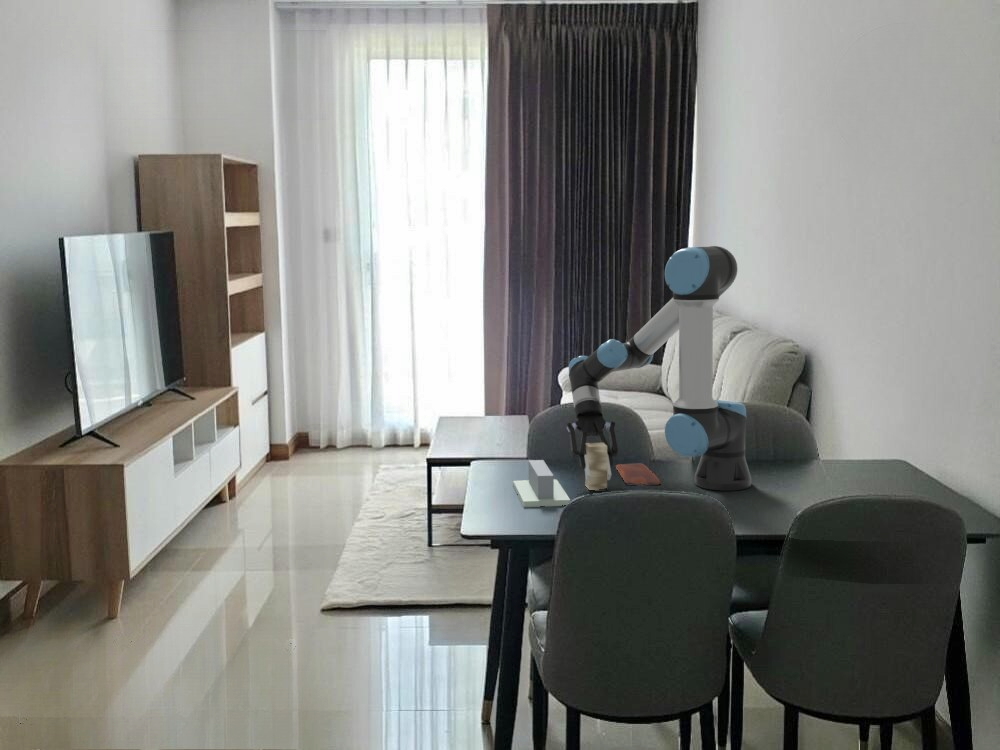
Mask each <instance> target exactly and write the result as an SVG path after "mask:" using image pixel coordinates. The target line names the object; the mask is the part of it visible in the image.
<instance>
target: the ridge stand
mask: <svg viewBox="0 0 1000 750" xmlns="http://www.w3.org/2000/svg"><path fill="white" fill-rule="evenodd" d="M512 485H513V486H514V487H513V486H512V487H513V489H514V488H515V489H514V491H515V490H516V491H515V492H517V493H516V495H517V494H518V495H517V497H518V499H519V501H520V503H521V505H522V507H523V508H537V507H539V508H540V506H545V507H563V506H564V505H566V504H567V503H568V502H569V501H570V502H571V498H570V497H569V496H568V494H567V493H566V491H565V489H564V488H563V486H562V485H561V484H560V482H559V480H558V479H555V477H554V473H552V471H551V470H550V468H549V467H548V465H547V464H546V462H545V460H544V459H530V460H528V480H527V479H526V480H525V479H523V480H512ZM562 505H563V506H562ZM564 507H565V506H564Z"/></svg>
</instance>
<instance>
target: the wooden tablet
mask: <svg viewBox="0 0 1000 750" xmlns="http://www.w3.org/2000/svg"><path fill="white" fill-rule="evenodd" d="M615 467H616V468H615V470H616V471H617V470H618V471H617V473H618V474H619V475H620V477H621V479H622V478H623V479H622V480H624V481H623V482H624V484H625V483H627V484H633V485H637V484H640V483H641V484H645V485H657V486H660V485H661V484H662V483H661V481H660V479H659V478H658V476H656V474H655V473H654V472H653V471H652V470H651V469H650V468H649V467H648V466H647V465H645V463H642V462H636V463H635V462H634V463H620V464H616V465H615ZM649 469H650V470H649ZM652 472H653V473H652ZM659 484H660V485H659ZM645 485H644V486H645Z"/></svg>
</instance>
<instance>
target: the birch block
mask: <svg viewBox="0 0 1000 750" xmlns="http://www.w3.org/2000/svg"><path fill="white" fill-rule="evenodd" d="M584 455H587V457H588V464H589V470H590V479H589V481H586V476H584V478H585V481H584V486H586V487H587V488H588V489H589V490H595V491H600V490H599V489H604V488H607V489H608V480H607V445H606V444H605V443H604V442H602V443H599V442H586V443H585V452H584ZM586 487H585V488H586ZM587 488H586V489H587ZM588 489H587V490H588Z"/></svg>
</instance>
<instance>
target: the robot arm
mask: <svg viewBox="0 0 1000 750" xmlns="http://www.w3.org/2000/svg"><path fill="white" fill-rule="evenodd" d="M737 274H738V262H737V260H736V258H735V256H734V255H733V253H732V252H731V251H729V250H728V249H726V248H725V247H722V246H718V245H712V246H711V245H710V246H691V247H690V246H689V247H685V248H681V249H679V250H677V251H675V252H674V253H673V254H672V255H671V256H670V257H669V259H668V261H667V263H666V264H665V269H664V279H665V284H666V285H667V286H668V287H669V288H668V289H670V291H671V292H672V295H673V296H672V297H671V299H669V301H668V302H666V303H665V305H663V307H661V308H660V310H658V312H656V314H654V315H653V317H652V318H650V319H649V320H648V322H646V324H645V325H643V326H642V327H641V328H640V329H639V331H637V332H636V333H635V334H634V335H633V336H632V337H631V338H630V339H628V341H627V342H624V343H622V342H621V341H620V340H616V339H614V338H612V339H611V338H610V339H608V340H607V341H605V342H603V343H602V344H600V345H599V347H598V348H597V349H596V350H595V351H593V352H592V353H590V355H579V356H577V357H574V358H572V359H571V360H570V361H569V364H568V378H569V382H570V383H569V384H570V388H571V394H572V402H573V403H572V404H573V408H574V416H575V421H574V422H572V423H571V422H568V423H566V424H567V425H566V432H567V434H568V436H569V444H570V453H571V457H572V458H575V459H576V458H577V459H578V461H579V466H580V469H581V470H584V475H585V476H586V481H589V479H590V470H589V464H588V457H587V455H585V443H587V439H588V437H590V436H591V437H592V436H593V437H595V438H596V440H597V441H598V443H602V442H604V443H605V444H606V445H607V481H610V480H611V478H612V470H611V469H613V467H614V461H613V457H614V458H615V457H617V455H618V452H619V448H618V443H617V437H616V432H615V427H616V422H615V421H611V422H608V421H606V420H605V418H604V414H603V409H602V404H601V399H600V398H601V397H600V391H599V386H598V385H599V383H600V382H601V381H603V380H604V379H605V378H606V377H608V376H609V375H610V374H612V373H615V372H620V371H626V370H633V369H641V368H643V367H645V366H646V367H647V366H648V365H650V363H651V362H652V361H653V358H654V353H655V352H657V351H658V350H659V349H660V348H661V347H662V346H663V345H664V344H665V343H667V342H668V340H670V339H671V338H672V337H673V336H674V335H675V334H676V333H677V332H678V335H679V336H678V386H679V387H678V398H677V399H676V400H675V401H674V403H672V404H673V405H672V408H673V409H672V415H671V416H670V417H669V418H668V420H667V421H666V423H665V426H664V436H665V441H666V442H667V445H668V446H669V447H670V448H671V449H672V451H673V452H675V453H676V454H677V455H680V456H681V457H686V458H691V457H700V458H699V459H700V460H699V462H698V465H697V468H696V471H695V473H694V485H695V486H697V487H699V488H702V489H705V490H706V489H707V490H713V491H723V492H724V491H726V492H728V491H740V490H745V489H746V490H747V489H749V488H750V487H751V486H752V476H751V473H750V470H749V465H748V463H747V460H746V440H747V439H746V435H747V432H746V431H747V408H746V405H745V404H743V403H742V402H738V401H730V400H729V401H728V400H717V399H714V398H713V371H714V370H713V369H714V368H713V366H714V365H713V364H714V362H713V358H714V357H713V351H714V350H713V349H714V348H713V346H714V344H713V343H714V341H713V339H714V337H713V336H714V335H713V333H714V330H713V328H714V326H713V325H714V305H715V304H716V303H717V302H718V301H719V300H720V296H722V295H723V294H724V293H725V292H726V291H727V290H728V289H729V288H730V287H731V286H732V284H733V283H734V282H735V280H736V278H737V276H738V275H737ZM604 428H606V430H607V432H608V440H609V443H608V441H607V439H606V437H605V434H604V431H603V429H604ZM576 429H577V430H578V431H579V432H580V433H581V439H580V445H579V446H580V448H579V450H578V446H577V445H578V444H577V437H576ZM585 476H584V477H585Z"/></svg>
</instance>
